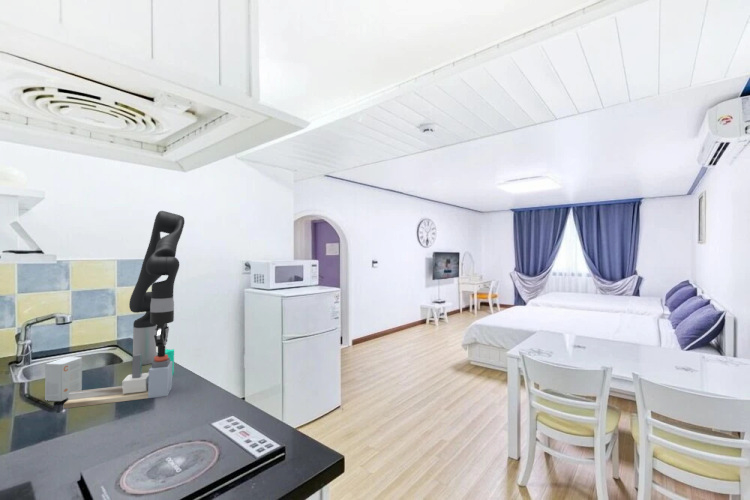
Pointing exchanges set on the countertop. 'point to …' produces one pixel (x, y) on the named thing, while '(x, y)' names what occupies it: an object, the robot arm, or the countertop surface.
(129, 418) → the countertop surface
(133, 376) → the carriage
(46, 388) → the small box
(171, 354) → the candle
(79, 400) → the rail
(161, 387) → the push button housing
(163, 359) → the button
